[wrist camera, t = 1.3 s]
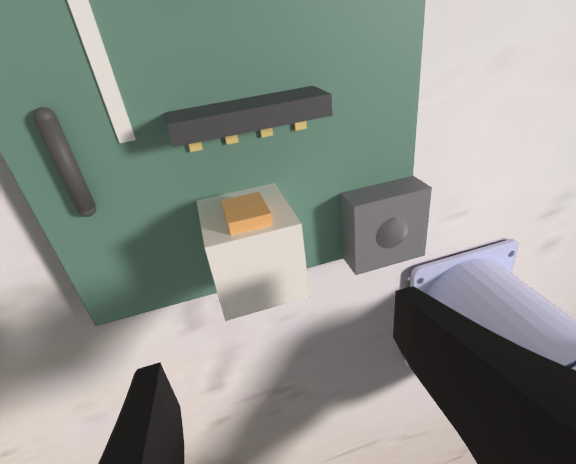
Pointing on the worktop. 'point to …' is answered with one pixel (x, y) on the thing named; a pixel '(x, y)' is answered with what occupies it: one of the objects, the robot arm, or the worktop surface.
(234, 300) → the plug
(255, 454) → the worktop surface
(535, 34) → the worktop surface
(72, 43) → the board
